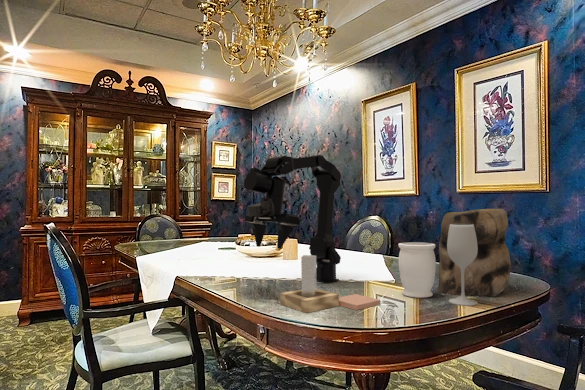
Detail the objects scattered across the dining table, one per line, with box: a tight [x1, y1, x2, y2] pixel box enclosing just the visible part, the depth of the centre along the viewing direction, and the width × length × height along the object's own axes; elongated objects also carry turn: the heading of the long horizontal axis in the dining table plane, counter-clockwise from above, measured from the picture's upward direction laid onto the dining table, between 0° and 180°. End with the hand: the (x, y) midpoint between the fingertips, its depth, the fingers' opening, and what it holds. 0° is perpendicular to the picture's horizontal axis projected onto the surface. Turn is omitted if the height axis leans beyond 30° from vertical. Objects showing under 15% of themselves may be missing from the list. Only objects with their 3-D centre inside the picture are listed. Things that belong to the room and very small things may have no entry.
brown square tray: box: [280, 288, 340, 314], centre depth 105 cm, size 11×11×3 cm
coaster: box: [339, 293, 381, 311], centre depth 106 cm, size 9×9×1 cm
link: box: [300, 254, 318, 298], centre depth 106 cm, size 3×3×13 cm
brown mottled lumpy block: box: [436, 208, 512, 297], centre depth 122 cm, size 20×20×25 cm
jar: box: [398, 241, 437, 299], centre depth 116 cm, size 11×10×15 cm
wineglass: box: [447, 224, 479, 307], centre depth 107 cm, size 8×8×21 cm
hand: (268, 247), depth 119 cm, fingers open, 9 cm apart
